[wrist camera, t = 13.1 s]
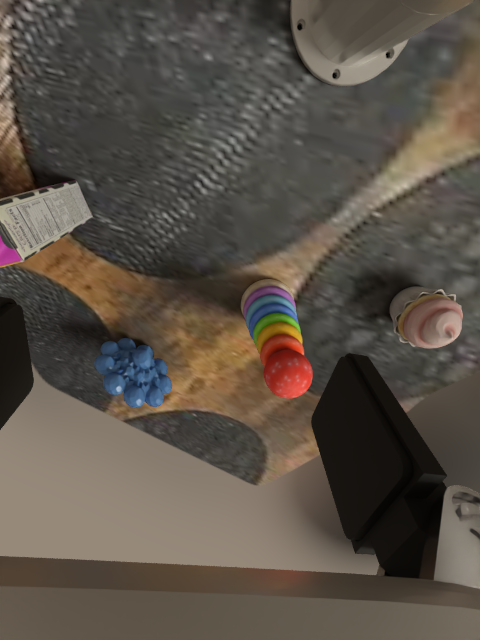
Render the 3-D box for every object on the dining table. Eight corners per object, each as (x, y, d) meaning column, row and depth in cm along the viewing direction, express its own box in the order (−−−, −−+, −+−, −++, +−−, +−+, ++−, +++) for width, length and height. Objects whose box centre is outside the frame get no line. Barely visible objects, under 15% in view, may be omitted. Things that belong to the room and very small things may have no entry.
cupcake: (452, 296, 47) (504, 331, 38) (404, 338, 50) (441, 378, 42) (415, 263, 44) (461, 293, 35) (366, 310, 47) (398, 347, 39)
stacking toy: (239, 323, 47) (245, 416, 31) (242, 275, 43) (251, 354, 27) (288, 324, 48) (320, 417, 32) (296, 277, 44) (337, 356, 28)
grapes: (189, 343, 49) (179, 397, 39) (170, 371, 52) (157, 428, 41) (120, 310, 45) (89, 360, 35) (104, 342, 48) (71, 397, 38)
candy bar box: (18, 240, 40) (-98, 294, 25) (-7, 201, 37) (-150, 237, 23) (97, 219, 39) (23, 264, 25) (78, 178, 36) (-17, 200, 22)
